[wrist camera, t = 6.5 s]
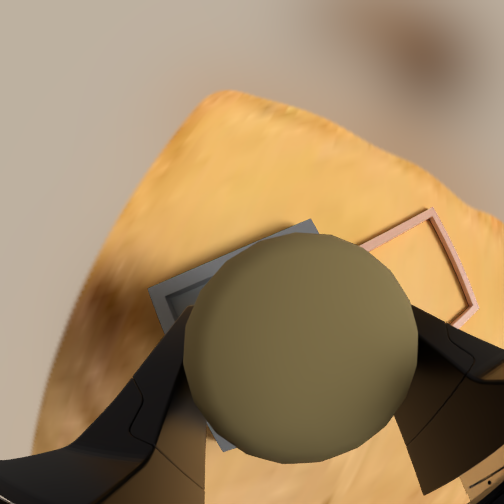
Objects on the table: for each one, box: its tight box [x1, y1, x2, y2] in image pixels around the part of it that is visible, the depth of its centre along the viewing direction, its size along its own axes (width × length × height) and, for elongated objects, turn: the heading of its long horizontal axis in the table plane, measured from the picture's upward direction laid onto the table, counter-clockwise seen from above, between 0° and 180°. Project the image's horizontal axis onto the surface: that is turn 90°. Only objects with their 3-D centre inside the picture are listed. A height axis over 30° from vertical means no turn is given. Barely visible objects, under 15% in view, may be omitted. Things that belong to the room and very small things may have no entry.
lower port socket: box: [148, 219, 319, 452], centre depth 15 cm, size 10×10×2 cm
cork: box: [183, 232, 418, 464], centre depth 9 cm, size 6×6×11 cm
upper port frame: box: [360, 207, 479, 329], centre depth 16 cm, size 9×9×1 cm
